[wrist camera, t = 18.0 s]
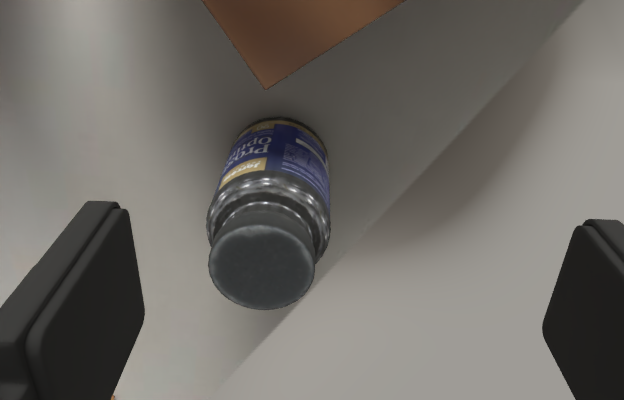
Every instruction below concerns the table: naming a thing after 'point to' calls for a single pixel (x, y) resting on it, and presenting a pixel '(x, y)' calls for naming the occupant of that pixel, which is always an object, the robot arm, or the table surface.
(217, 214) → the pill bottle
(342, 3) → the cabinet
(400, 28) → the table surface
